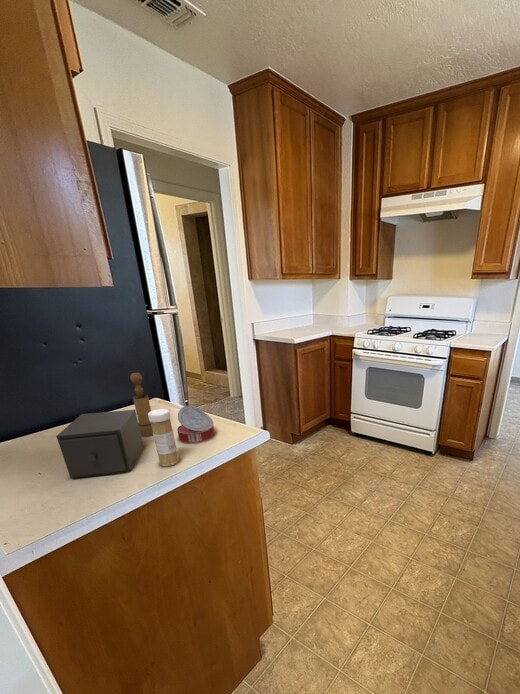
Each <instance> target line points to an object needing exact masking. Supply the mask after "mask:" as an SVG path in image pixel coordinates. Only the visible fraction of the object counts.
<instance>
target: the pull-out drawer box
mask: <svg viewBox="0 0 520 694" xmlns="http://www.w3.org/2000/svg"><path fill="white" fill-rule="evenodd" d="M59 445H60V446H59ZM58 446H59V449H60V448H61V449H60V452H61V451H62V452H61V454H62V457H63V460H64V464H65V465H66V466H65V467H66V469H67V472H68V475H69V477H76V476H85V475H93V474H101V473H109V472H118V471H126V469H127V467H126V463H125V459H124V455H123V452H122V448H121V444H120V440H119V436H118V434H117V433H116V434H106V435H96V436H86V437H76V438H67V439H62V440H60V441H59V443H58Z"/></svg>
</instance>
